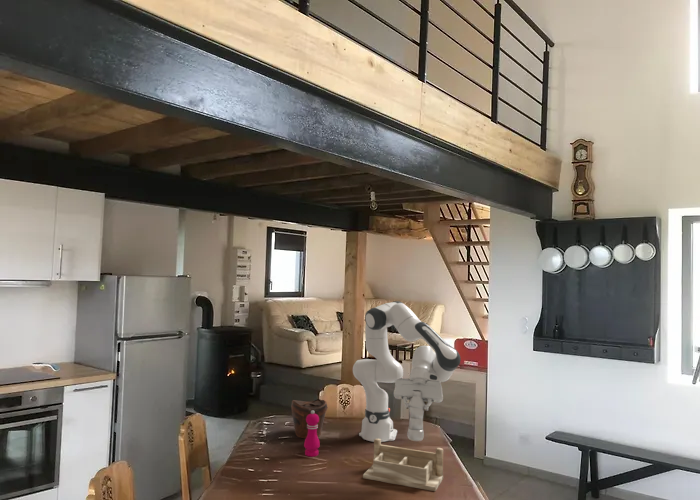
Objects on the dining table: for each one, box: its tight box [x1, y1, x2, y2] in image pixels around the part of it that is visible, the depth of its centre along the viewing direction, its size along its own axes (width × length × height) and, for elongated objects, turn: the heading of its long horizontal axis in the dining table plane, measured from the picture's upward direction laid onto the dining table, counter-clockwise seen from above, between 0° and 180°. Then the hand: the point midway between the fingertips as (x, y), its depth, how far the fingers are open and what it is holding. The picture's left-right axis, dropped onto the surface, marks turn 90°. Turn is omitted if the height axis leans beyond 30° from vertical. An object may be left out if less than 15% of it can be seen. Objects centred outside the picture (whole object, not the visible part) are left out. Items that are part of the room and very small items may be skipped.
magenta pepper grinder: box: [303, 410, 321, 457], centre depth 246 cm, size 7×7×20 cm
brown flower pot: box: [290, 398, 328, 439], centre depth 274 cm, size 18×20×18 cm
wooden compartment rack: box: [362, 439, 444, 492], centre depth 221 cm, size 14×30×12 cm, turn 68°
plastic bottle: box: [406, 390, 426, 442], centre depth 218 cm, size 6×7×20 cm
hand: (416, 408), depth 218 cm, fingers closed on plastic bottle, 6 cm apart
